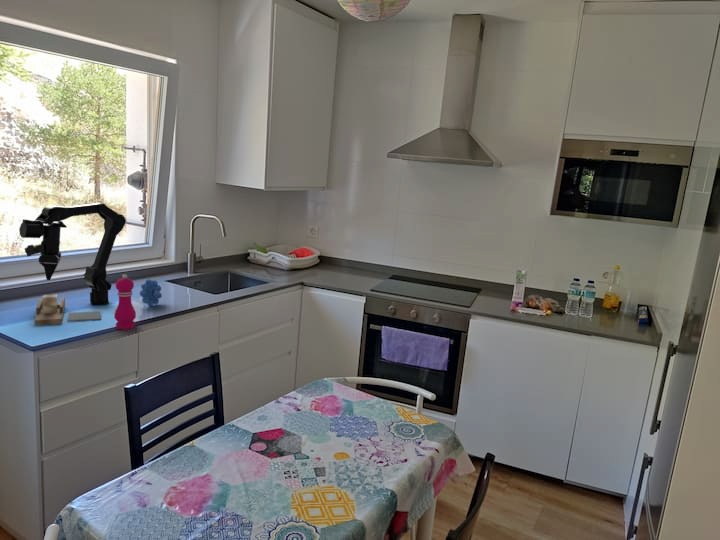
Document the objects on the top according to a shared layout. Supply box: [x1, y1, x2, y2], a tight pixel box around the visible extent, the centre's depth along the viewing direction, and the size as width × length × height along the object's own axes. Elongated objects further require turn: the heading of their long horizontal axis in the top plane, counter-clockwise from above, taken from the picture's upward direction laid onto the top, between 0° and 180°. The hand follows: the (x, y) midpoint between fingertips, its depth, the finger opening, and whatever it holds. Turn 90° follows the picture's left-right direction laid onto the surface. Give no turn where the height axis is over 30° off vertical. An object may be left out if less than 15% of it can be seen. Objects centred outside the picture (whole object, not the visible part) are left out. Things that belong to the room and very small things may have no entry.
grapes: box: [139, 279, 163, 307], centre depth 219 cm, size 12×7×12 cm, turn 158°
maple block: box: [42, 294, 59, 313], centre depth 196 cm, size 4×4×6 cm
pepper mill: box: [113, 273, 137, 330], centre depth 188 cm, size 7×7×20 cm
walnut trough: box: [33, 296, 66, 326], centre depth 197 cm, size 8×24×4 cm, turn 27°
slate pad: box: [67, 310, 102, 323], centre depth 199 cm, size 11×11×1 cm
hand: (49, 278), depth 201 cm, fingers open, 9 cm apart
